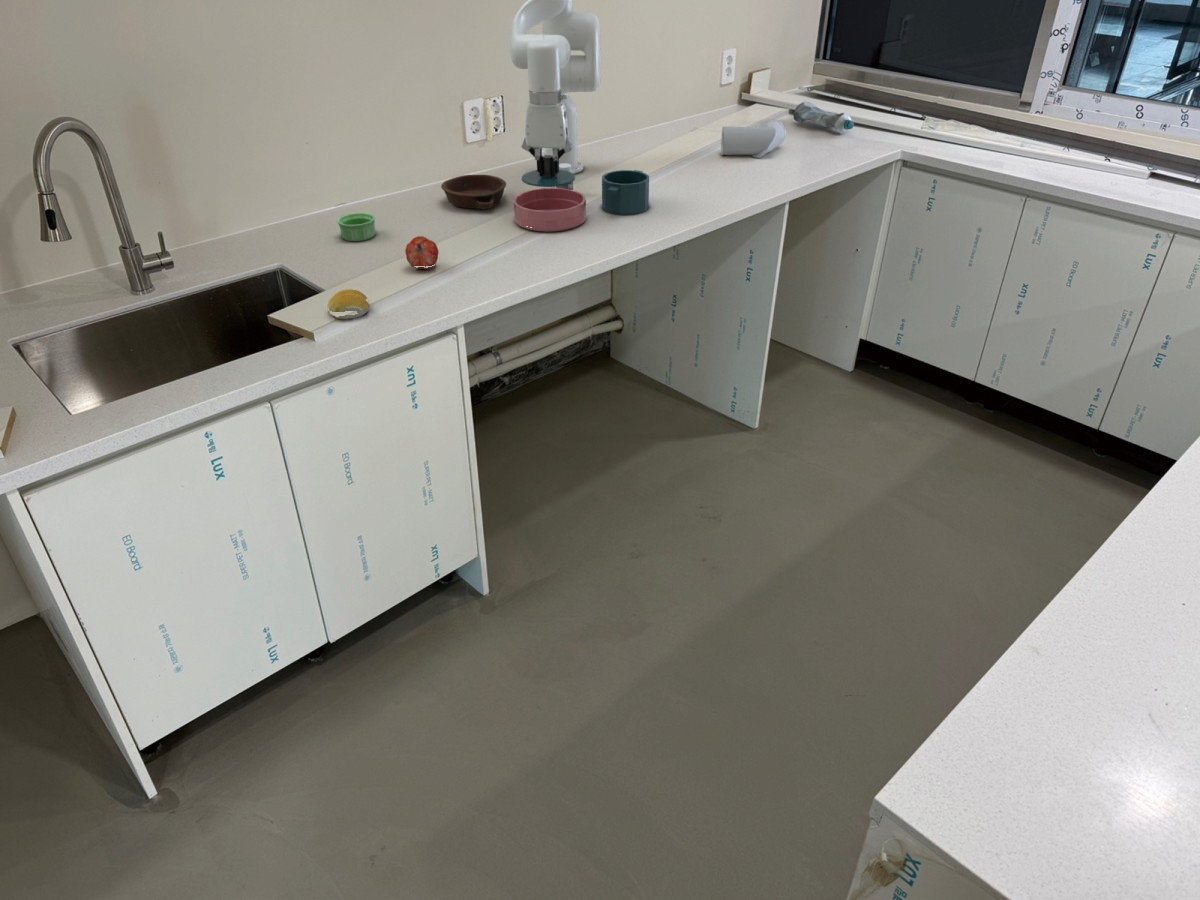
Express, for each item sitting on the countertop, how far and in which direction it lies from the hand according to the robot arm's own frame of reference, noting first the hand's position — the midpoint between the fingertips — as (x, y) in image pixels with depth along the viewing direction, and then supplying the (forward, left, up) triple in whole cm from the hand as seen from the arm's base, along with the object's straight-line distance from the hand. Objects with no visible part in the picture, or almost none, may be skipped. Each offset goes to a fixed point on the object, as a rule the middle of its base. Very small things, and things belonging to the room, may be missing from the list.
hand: (548, 174), depth 211 cm
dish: (-26, -2, -12) cm, 29 cm away
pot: (+9, +20, -12) cm, 25 cm away
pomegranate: (-2, -41, -12) cm, 43 cm away
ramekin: (-30, -38, -12) cm, 50 cm away
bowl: (0, 0, -12) cm, 12 cm away
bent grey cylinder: (+8, +85, -12) cm, 86 cm away
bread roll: (+4, -66, -12) cm, 67 cm away
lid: (0, 0, -1) cm, 1 cm away
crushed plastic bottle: (+13, +126, -12) cm, 127 cm away
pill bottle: (-10, +17, -12) cm, 23 cm away
